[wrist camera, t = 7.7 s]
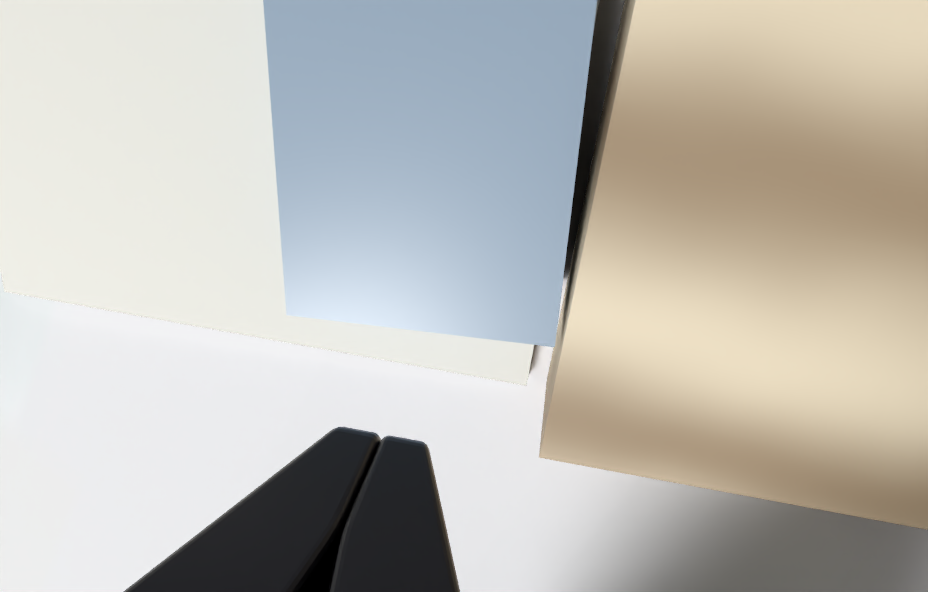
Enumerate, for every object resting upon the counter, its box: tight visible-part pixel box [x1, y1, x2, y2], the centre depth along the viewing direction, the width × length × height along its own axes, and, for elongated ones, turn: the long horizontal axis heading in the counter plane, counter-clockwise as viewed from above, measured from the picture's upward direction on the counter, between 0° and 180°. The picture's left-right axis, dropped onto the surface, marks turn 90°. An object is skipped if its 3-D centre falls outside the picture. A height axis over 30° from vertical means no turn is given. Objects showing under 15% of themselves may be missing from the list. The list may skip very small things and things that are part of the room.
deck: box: [539, 0, 928, 530], centre depth 16 cm, size 14×12×3 cm
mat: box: [0, 0, 600, 386], centre depth 18 cm, size 14×14×1 cm
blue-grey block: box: [263, 0, 597, 347], centre depth 17 cm, size 9×6×2 cm, turn 177°
